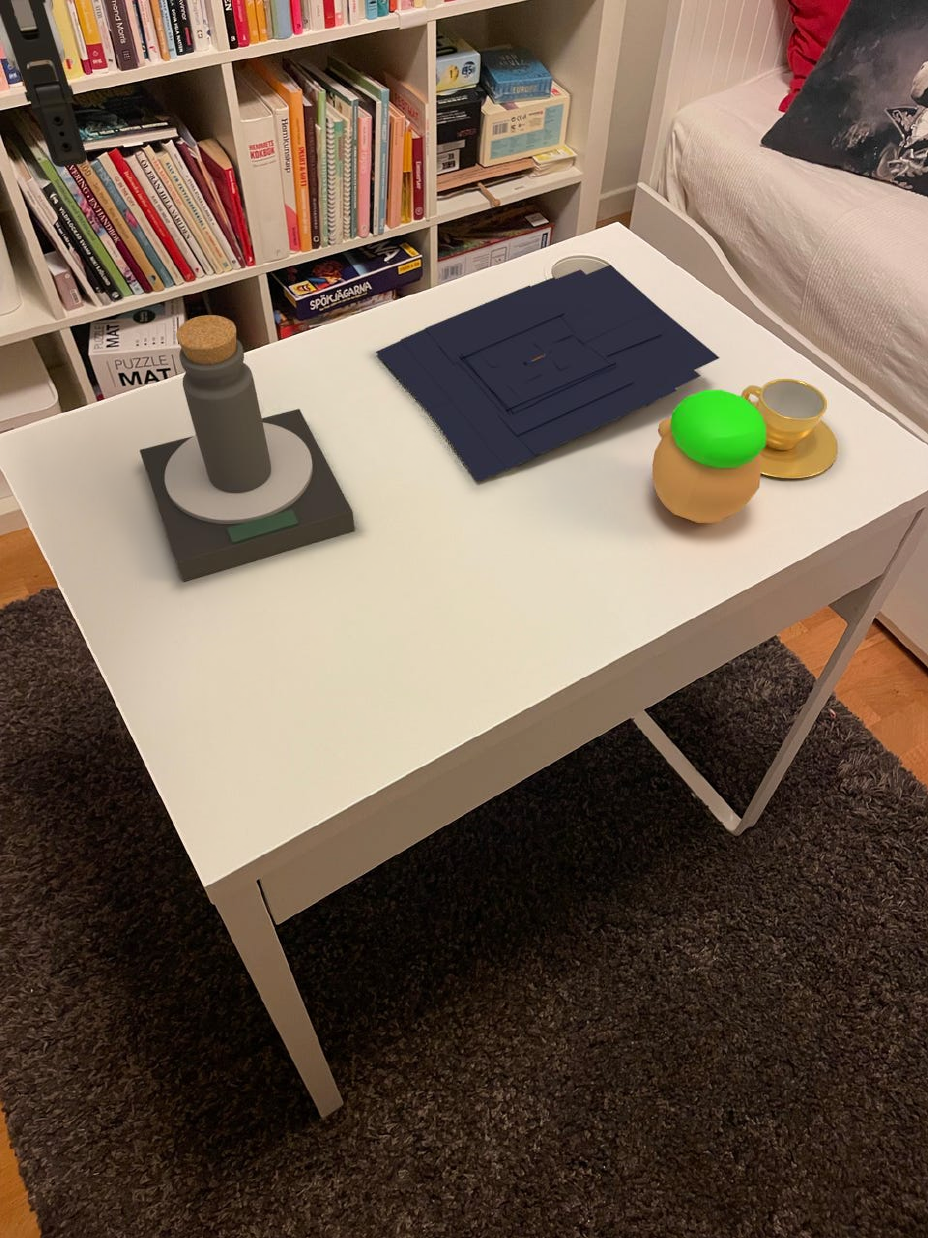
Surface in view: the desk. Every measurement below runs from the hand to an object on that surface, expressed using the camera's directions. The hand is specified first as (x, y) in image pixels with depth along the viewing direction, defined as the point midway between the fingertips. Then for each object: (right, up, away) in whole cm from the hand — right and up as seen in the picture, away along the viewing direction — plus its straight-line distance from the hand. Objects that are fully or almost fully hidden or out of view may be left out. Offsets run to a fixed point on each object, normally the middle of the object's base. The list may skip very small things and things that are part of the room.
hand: (61, 136), depth 61 cm
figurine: (+50, -22, +25) cm, 60 cm away
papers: (+37, -7, +37) cm, 52 cm away
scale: (+7, -22, +24) cm, 33 cm away
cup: (+60, -15, +30) cm, 69 cm away
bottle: (+7, -20, +22) cm, 30 cm away
